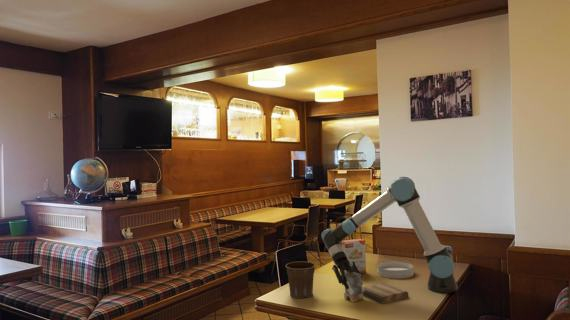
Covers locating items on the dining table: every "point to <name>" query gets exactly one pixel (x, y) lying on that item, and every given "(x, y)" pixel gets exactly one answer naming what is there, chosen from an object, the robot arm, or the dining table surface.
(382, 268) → the dish
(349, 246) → the cracker box
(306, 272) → the plant pot
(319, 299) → the dining table surface
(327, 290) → the dining table surface
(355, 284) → the grey upright cylinder
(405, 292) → the block
